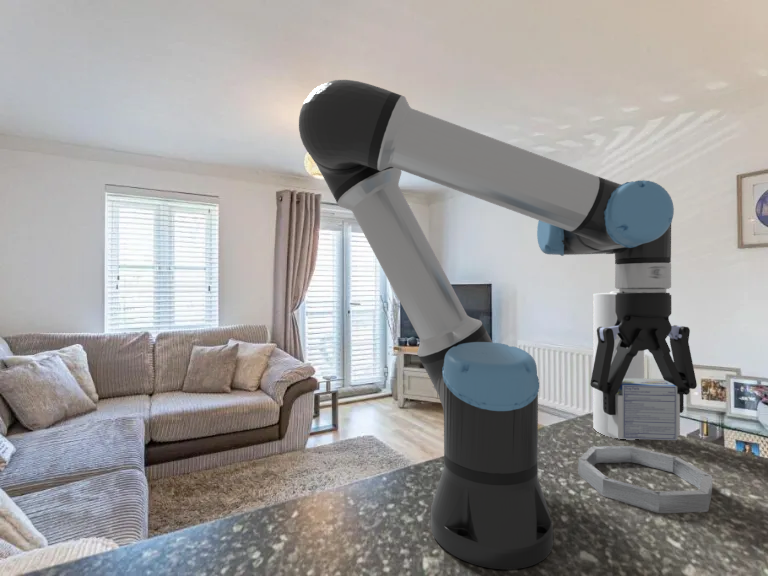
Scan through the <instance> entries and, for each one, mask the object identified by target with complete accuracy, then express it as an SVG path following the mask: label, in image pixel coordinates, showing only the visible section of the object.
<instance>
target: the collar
mask: <svg viewBox="0 0 768 576" xmlns="http://www.w3.org/2000/svg"><path fill="white" fill-rule="evenodd" d="M604 463H606V464H607V463H608V464H609V463H612V464H613V463H614V464H615V463H632V464H633V463H634V464H637V465H639V466H640V465H641V466H643V467H644V466H645V467H649V468H653V469H657V470H661V471H666V472H668V473H673V474H674V475H675V476H678V478H681V479H682V480H684V481H686V482H687V483H689V484H691V485H692V486H694V487H695V488H697V490H670V491H669V490H668V491H667V490H666V491H662V490H661V491H656V490H652V489H649V488H645V487H642V486H639V485H634V484H631V483H628V482H624V481H620V480H616V479H613V478H609V477H607V475H605V474H604V473H603V472H601V471H600V470H598V468H596V467H595V465H596V464H604ZM577 466H578V468H577V469H578V471H577V472H578V475H579V476H580V478H582V479H584V481H585V482H587V483H588V484H589V485H590V486H591V487H592V488H593V489H594V490H596V491H597V493H598V494H600V495H602V497H605V498H608V499H612V500H615V501H618V502H621V503H625V504H628V505H630V506H634V507H637V508H641V509H644V510H647V511H649V512H653V513H656V514H676V513H677V514H681V513H708V512H709V508H710V505H711V498H712V494H713V476H712V475H711V474H709V473H707V472H706V471H704V470H702V469H700V468H698V467H696V466H695V465H694V464H693V465H692V464H691V463H689V462H687V461H685V460H684V459H682V458H681V457H679V456H677V455H676V456H675V455H673V454H672V455H671V454H667V453H662V452H658V451H654V450H650V449H644V448H642V447H641V448H640V447H635V446H633V445H612V446H611V445H609V446H607V445H605V446H604V445H602V446H590V447H589V448H588V449H587V450H586V451H585V452H584V453H583V454H582V455H581V456H580V457H579V458H578V465H577Z"/></svg>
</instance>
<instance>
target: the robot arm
mask: <svg viewBox="0 0 768 576" xmlns="http://www.w3.org/2000/svg"><path fill="white" fill-rule="evenodd" d="M298 131H299V136H300V137H299V138H300V139H301V142H302V145H303V146H304V148H305V150H306V151H307V153H308V154H309V156H310V158H311V159H312V160H313V161H314V163H315V165H316V166H317V168H318V171H319V172H320V174H321V175H322V177H323V179H324V181H325V182H326V185H327V186H328V189H329V190H330V192H331V195H332V196H333V198H334V200H335V202H336V204H337V205H338V207H340V208H342V209H346V210H348V211H351V212H352V214H353V216H354V218H355V220H356V221H357V223H358V225H359V227H360V229H361V230H362V233H363V234H364V236H365V239H366V240H367V243H368V244H369V245H370V248H371V249H372V252H373V253H374V255H375V257H376V259H377V261H378V263H379V265H380V267H381V268H382V270H383V273H384V274H385V276H386V278H387V280H388V282H389V284H390V285H391V288H392V289H393V291H394V293H395V295H396V298H397V299H398V301H399V303H400V304H401V306H402V308H403V310H404V312H405V314H406V316H407V317H408V320H409V322H410V323H411V325H412V328H413V329H414V332H416V333H415V334H416V335H417V337H418V338H419V345H418V349H417V352H416V355H417V356H418V357H419V360H420V362H421V364H422V366H423V368H424V370H425V371H426V374H427V375H428V377H429V379H430V381H431V383H432V384H433V387H434V389H435V391H436V392H437V394H438V398H439V401H440V404H441V407H442V409H443V454H444V455H443V470H442V473H441V475H440V479H439V482H438V484H437V488H436V491H435V493H434V497H433V500H432V503H431V505H430V506H431V508H430V529H431V533H432V535H433V538H434V539H435V541H436V543H438V544H439V546H440V547H442V548H443V549H444V550H445V551H446V552H448V553H449V554H451V555H452V556H453V557H456V558H458V559H459V560H462V561H464V562H467V563H470V564H472V565H474V566H477V567H478V566H479V567H483V568H488V569H494V570H519V569H525V568H528V567H533V566H535V565H536V564H539V563H540V562H542V561H543V560H545V559H546V558H547V557H548V556H549V555H550V553H551V551H552V549H553V547H554V546H553V545H554V525H553V519H552V516H551V514H550V509H549V508H548V507H549V506H548V504H547V502H546V498H545V495H544V492H543V489H542V486H541V483H540V480H539V473H538V470H539V469H538V459H539V458H538V456H539V455H538V453H539V451H538V450H539V448H538V447H539V444H538V440H539V439H538V438H539V437H538V436H539V435H538V433H539V428H538V427H539V423H538V422H539V417H538V416H539V412H538V411H539V407H538V406H539V391H540V390H539V389H540V381H539V377H538V368H537V363H536V361H535V359H534V357H533V356H532V355H531V354H530V353H528V351H526V350H525V349H522V348H519V347H517V346H510V345H508V344H505V343H500V342H493V341H492V339H491V336H490V335H489V333H488V331H487V329H486V327H485V326H484V324H483V322H482V320H480V319H477V318H473V317H471V316H469V315H468V314H467V312H466V310H465V309H464V307H463V304H462V303H461V301H460V299H459V297H458V295H457V294H456V291H455V289H454V288H453V286H452V283H451V282H450V280H449V279H448V277H447V274H446V273H445V270H444V269H443V267H442V265H441V263H440V262H439V260H438V257H437V255H436V254H435V252H434V250H433V248H432V246H431V244H430V242H429V241H428V239H427V237H426V235H425V233H424V231H423V229H422V227H421V226H420V224H419V222H418V220H417V218H416V216H415V215H414V212H413V211H412V209H411V207H410V205H409V203H408V201H407V199H406V198H405V195H404V194H403V191H402V190H401V188H400V186H399V184H400V180H401V176H402V171H403V172H405V173H408V174H410V175H413V176H416V177H420V178H422V179H425V180H427V181H430V182H432V183H435V184H438V185H440V186H444V187H447V188H449V189H452V190H455V191H458V192H460V193H463V194H465V195H469V196H471V197H475V198H476V199H480V200H482V201H485V202H487V203H490V204H493V205H495V206H499V207H501V208H505V209H506V210H509V211H511V212H512V211H513V212H515V213H517V214H521V215H524V216H525V217H526V216H527V217H529V218H532V219H535V220H537V221H538V222H537V227H536V228H537V230H536V237H537V243H538V247H539V250H540V251H541V252H542V253H543V254H545V255H560V256H562V257H563V256H565V255H566V256H567V255H569V256H572V255H575V256H576V255H578V256H579V255H600V254H601V255H602V254H604V255H613V254H614V265H615V266H614V288H615V289H616V290H618V291H619V292H620V293H617V295H615V312H616V315H617V321H616V323H615V326H612V327H606V328H605V327H598V328H597V336H598V346H597V351H596V356H595V362H594V367H593V366H592V373H591V379H590V383H589V385H590V386H591V388H595V389H597V390H600V391H602V392H603V410H604V412H605V413H607V414H608V432H609V433H611V434H613V435H614V436H616V437H618V438H623V396H622V395H619V394H617V393H618V390H619V388H620V386H621V384H622V381H623V379H624V377H625V375H626V372H627V370H628V368H629V366H630V363H631V361H632V359H633V357H634V356H636V355H637V353H638V351H643V350H644V351H646V350H648V352H649V353H650V354H651V355H652V357H653V359H654V360H655V364H656V365H657V368H658V370H659V372H660V374H661V376H662V379H663V380H666V381H668V382H670V383H672V384H674V385H675V386H677V437H679V436H680V437H681V423H680V422H681V419H680V418H681V414H683V413H684V408H685V407H684V396H686V395H689V394H690V393H691V392H690V391H691V390H695V389H697V386H698V383H697V378H696V375H695V374H696V372H695V369H694V362H693V358H692V354H691V349H690V343H689V340H690V333H691V329H690V328H689V327H688V326H683V325H676V324H674V325H672V324H671V322H670V318H669V317H670V316H671V315H672V294H670V292H667V290H668V289H669V290H670V288H672V223H673V218H674V212H675V211H674V210H675V208H674V203H673V200H672V197H671V195H670V194H669V192H668V191H667V190H666V189H665V187H663V186H662V185H660V184H659V183H656V182H654V181H650V180H644V179H643V180H642V179H641V180H636V181H626V182H624V183H622V184H620V183H617V182H616V181H613V180H610V179H606V178H603V177H600V176H597V175H594V174H592V173H589V172H587V171H584V170H581V169H578V168H575V167H573V166H571V165H568V164H564V163H562V162H560V161H556V160H554V159H551V158H548V157H546V156H542V155H540V154H537V153H534V152H532V151H529V150H527V149H524V148H521V147H519V146H518V147H517V146H515V145H512V144H509V143H507V142H504V141H502V140H499V139H496V138H494V137H491V136H489V135H485V134H483V133H480V132H478V131H474V130H472V129H469V128H466V127H463V126H461V125H457V124H456V123H453V122H450V121H448V120H444V119H442V118H439V117H436V116H433V115H430V114H428V113H426V112H422V111H419V110H418V109H415V108H412V107H411V106H410V105H409V103H408V100H407V98H406V96H403V95H402V94H398V93H397V92H392V91H391V90H388V89H385V88H382V87H379V86H377V85H373V84H369V83H366V82H363V81H357V80H351V79H335V80H331V81H328V82H325V83H323V84H321V85H318V86H317V87H316V88H314V89H313V90H312V91H311V92H310V93H309V95H308V96H307V97H306V99H304V102H303V105H302V106H301V109H300V112H299V117H298ZM617 334H618V336H619V337H620V341H619V343H618V346H617V348H616V350H617V352H616V355H615V357H614V359H613V361H612V356H613V351H614V340H615V339H617V336H616V335H617ZM668 337H669V343H670V344H669V345H670V346H669V345H668V342H667V340H666V339H667V338H668ZM627 347H628V348H627ZM671 354H672V356H671ZM611 361H612V364H611ZM690 389H691V390H690Z"/></svg>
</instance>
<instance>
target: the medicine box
mask: <svg viewBox="0 0 768 576" xmlns="http://www.w3.org/2000/svg"><path fill="white" fill-rule="evenodd" d="M617 394H619V395H622V396H623V439H639V440H658V441H659V440H660V441H677V440H678V436H677V386H675V385H674V384H672V383H670V382H668V381H666V380H664V379H663V378H644V379H641V378H624V379H623V381H622V384H621V386H620V388H619V390H618V393H617Z"/></svg>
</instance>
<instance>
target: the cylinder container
mask: <svg viewBox="0 0 768 576" xmlns="http://www.w3.org/2000/svg"><path fill="white" fill-rule="evenodd" d="M617 293H620V292H619V290H618V291H617V290H612V291H611V290H610V292H597V293H592V296H593V297H592V301H593V304H592V305H593V306H592V309H593V310H592V311H593V312H592V314H593V317H592V318H593V323H592V325H593V327H592V328H593V330H592V332H593V333H592V335H593V336H592V337H593V339H592V341H593V343H592V347H593V349H592V353H593V354H592V356H593V358H592V362H593V363H592V368H593V367H594V362H595V356H596V351H597V346H598V336H597V328H598V327H605V328H606V327H612V326H615V323H616V321H617V315H616V312H615V295H617ZM616 336H617V339H615V340H614V351H613V356H612V361H613V359H614V357H615V355H616V352H617V350H616V348H617V346H618V343H619V341H620V337H619V336H618V334H617V335H616ZM627 348H628V347H627ZM612 361H611V364H612ZM624 378H641V379H645V350H643V351H638V353H637V355H636V356H634V357H633V359H632V361H631V363H630V366H629V368H628V370H627V372H626V375H625V377H624ZM592 388H593V387H592ZM592 390H593V391H592V394H593V395H592V396H593V397H592V402H593V403H592V421H593V422H592V427H593V428H594V429H595V430H596V431H597V432H599V433H601V434H603V435H605V436H604V437H606V436H609V437H608V438H610V437H613V438H612V439H614V438H618V437H616V436H614V435H613V434H611V433H609V432H608V414H607V413H605V412H604V410H603V392H602V391H600V390H597V389H595V388H593V389H592ZM593 428H592V429H593ZM597 432H596V433H597ZM601 434H600V435H601ZM603 435H602V436H603ZM620 439H623V438H618V439H617V440H620ZM625 441H636V440H635V439H626V440H625Z"/></svg>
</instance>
